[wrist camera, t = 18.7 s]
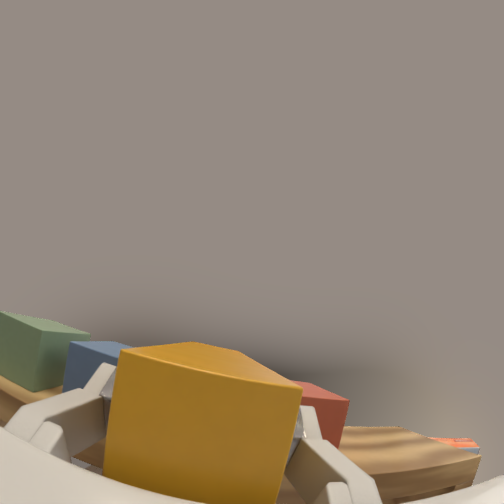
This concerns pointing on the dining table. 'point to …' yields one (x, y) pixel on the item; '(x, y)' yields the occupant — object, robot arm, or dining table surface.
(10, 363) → the block
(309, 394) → the block
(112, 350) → the block
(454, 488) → the shelf
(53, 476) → the robot arm
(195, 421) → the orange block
